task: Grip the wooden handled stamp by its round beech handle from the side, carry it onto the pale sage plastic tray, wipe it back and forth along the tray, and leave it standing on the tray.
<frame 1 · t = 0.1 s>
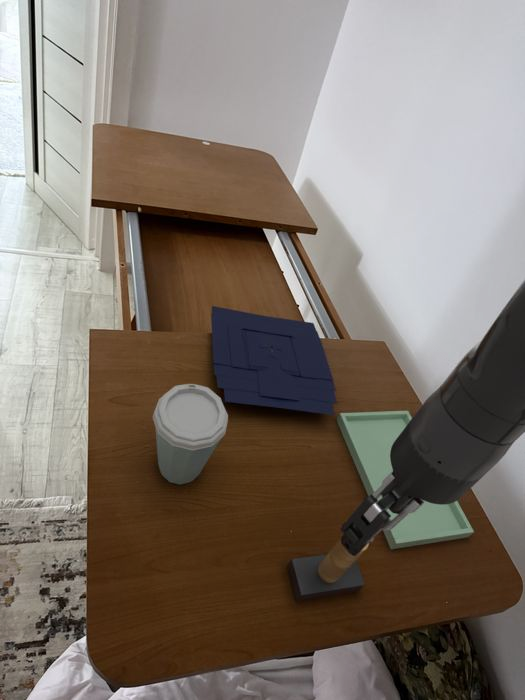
hand: (374, 527, 55), 23 cm above the table, tool pointing down, fingers open, 8 cm apart
wooden handled stamp: (322, 578, 74), on the table
disposable coffee cup: (176, 468, 80), on the table
tray: (397, 475, 91), on the table
folded navy cloth: (268, 364, 103), on the table
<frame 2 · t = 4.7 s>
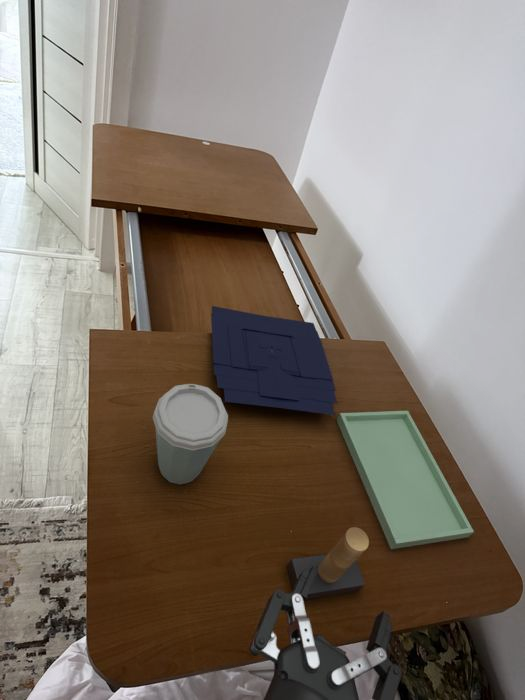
hand: (347, 592, 54), 18 cm above the table, tool horizontal, fingers open, 8 cm apart
nothing on the table moved.
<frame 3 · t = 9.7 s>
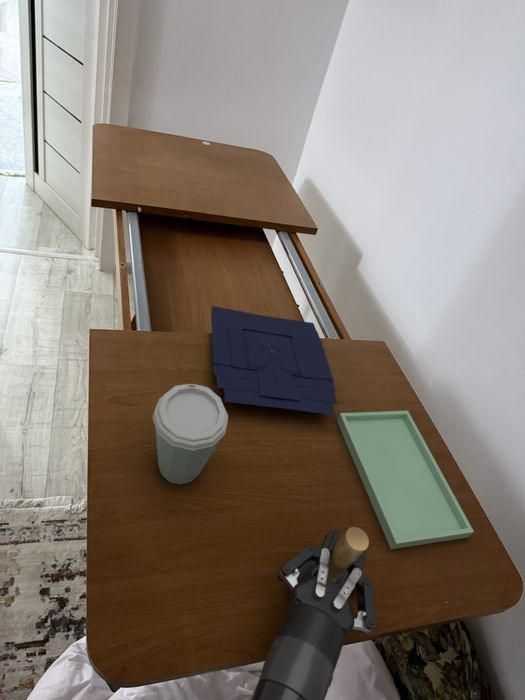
hand: (348, 540, 71), 8 cm above the table, tool horizontal, fingers closed on wooden handled stamp, 3 cm apart
wooden handled stamp: (322, 578, 74), on the table, touching gripper
everything else where it was.
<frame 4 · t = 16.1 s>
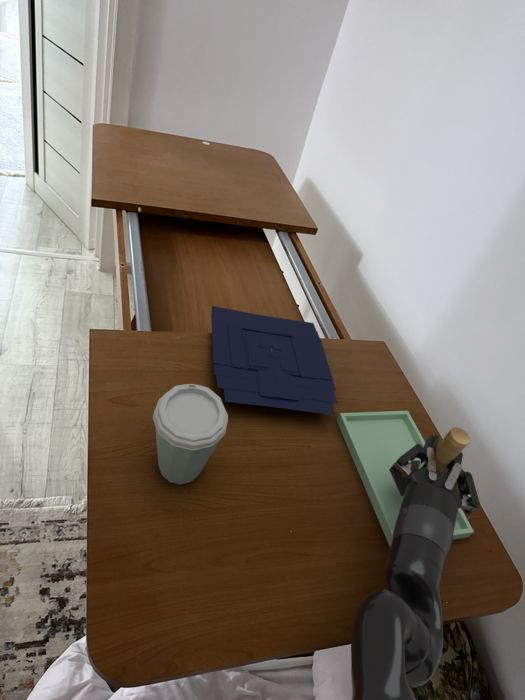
hand: (445, 444, 83), 12 cm above the table, tool horizontal, fingers closed on wooden handled stamp, 3 cm apart
wooden handled stamp: (419, 480, 85), point 5 cm above the table, touching gripper
everything else where it was.
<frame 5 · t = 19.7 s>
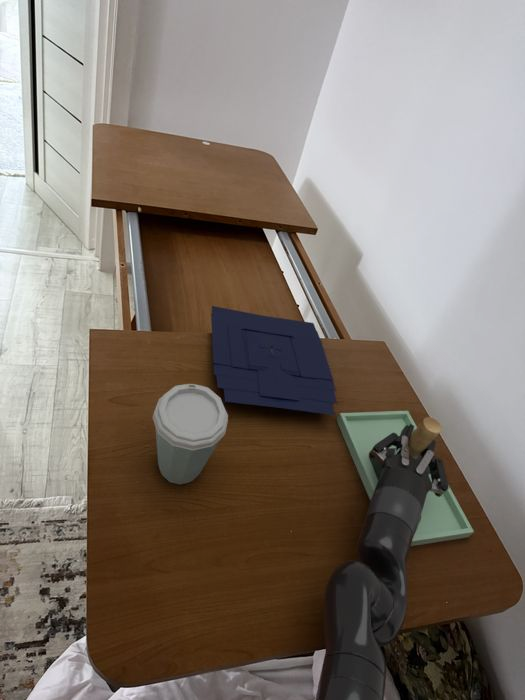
hand: (419, 433, 89), 8 cm above the table, tool horizontal, fingers closed on wooden handled stamp, 3 cm apart
wooden handled stamp: (397, 467, 92), point 1 cm above the table, touching gripper
everything else where it was.
when the fingers open (8 cm above the table, at t = 22.6 s): wooden handled stamp stays where it is, resting on tray.
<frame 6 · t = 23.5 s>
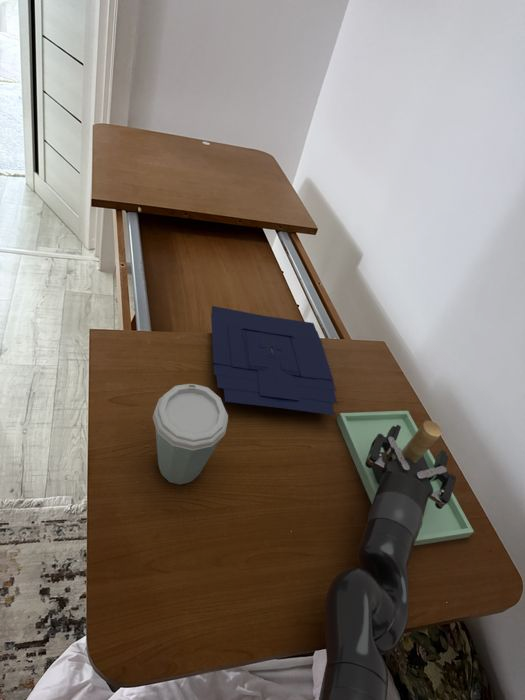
hand: (419, 440, 88), 8 cm above the table, tool horizontal, fingers open, 8 cm apart
wooden handled stamp: (397, 471, 91), point 1 cm above the table, touching tray
everything else where it was.
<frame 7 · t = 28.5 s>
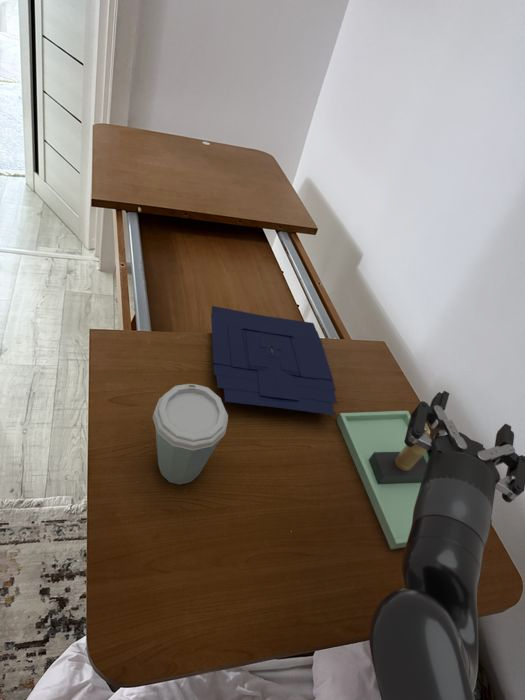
hand: (473, 412, 66), 28 cm above the table, tool horizontal, fingers open, 8 cm apart
nothing on the table moved.
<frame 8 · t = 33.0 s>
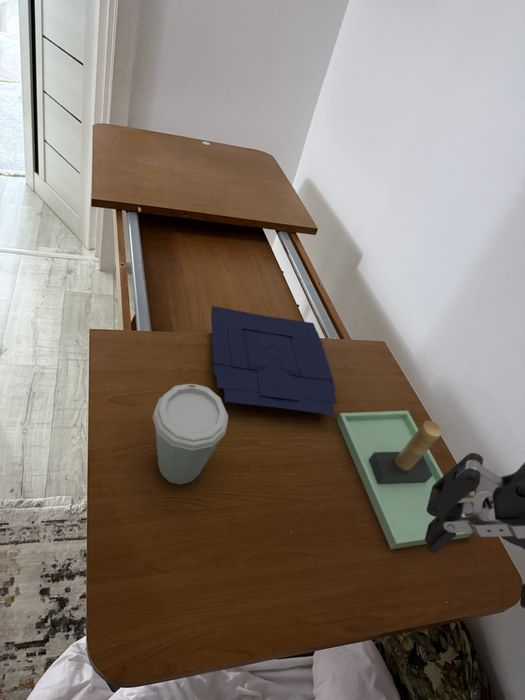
hand: (477, 570, 43), 33 cm above the table, tool pointing down, fingers open, 8 cm apart
nothing on the table moved.
at the end: wooden handled stamp inside the target area in the tray (0.5 cm from its centre), point 0.6 cm above the tray's base; wooden handled stamp tilted 0°; the gripper is holding nothing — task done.
